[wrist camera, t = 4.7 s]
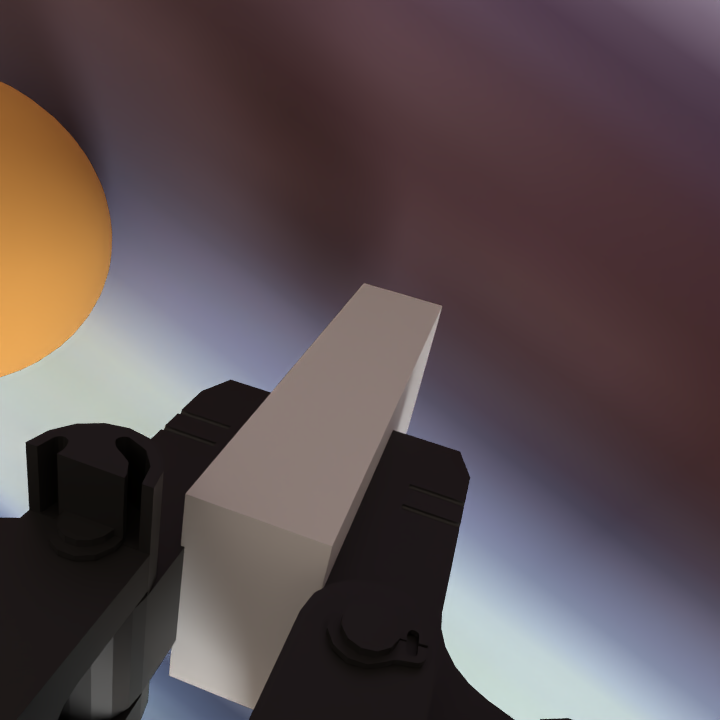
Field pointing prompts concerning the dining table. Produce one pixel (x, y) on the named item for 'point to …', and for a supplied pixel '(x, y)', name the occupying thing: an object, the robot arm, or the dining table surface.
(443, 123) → the dining table surface
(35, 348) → the ball
